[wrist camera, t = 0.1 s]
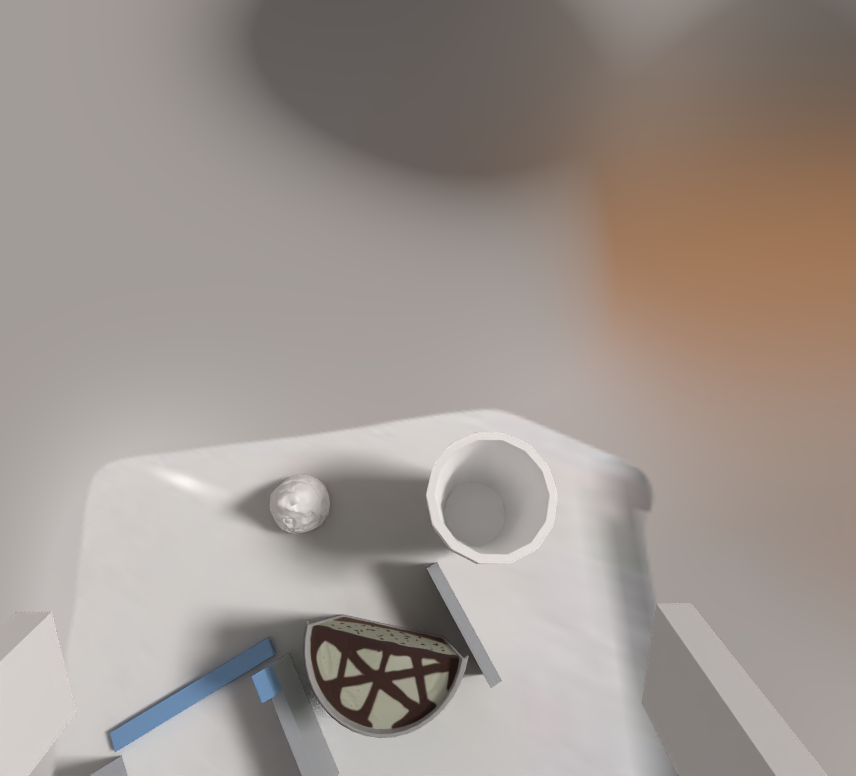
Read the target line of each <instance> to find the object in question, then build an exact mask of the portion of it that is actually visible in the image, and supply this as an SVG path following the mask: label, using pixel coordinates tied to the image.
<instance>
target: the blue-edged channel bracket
mask: <svg viewBox="0 0 856 776" xmlns="http://www.w3.org/2000/svg"><path fill="white" fill-rule="evenodd" d="M426 569H427V570H428V572H429V574H430V576H431V578H432V580H433V582H434V584H435V585H436V587H437V589H438V591H439V593H440V595H441V597H442V598H443V600H444V602H445V604H446V606H447V608H448V610H449V611H450V613H451V615H452V617H453V619H454V621H455V623H456V624H457V626H458V628H459V630H460V632H461V634H462V636H463V638H464V639H465V641H466V643H467V645H468V647H469V649H470V651H471V652H472V654H473V656H474V658H475V660H476V662H477V664H478V665H479V667H480V669H481V671H482V673H483V675H484V677H485V678H486V680H487V682H488V684H489V685H490V687H491V688H492V687H493V686H495V685H496V684H498V683H499V682H501V681H502V680H501V678H500V676H499V675H498V673H497V671H496V669H495V667H494V665H493V664H492V662H491V660H490V658H489V656H488V654H487V653H486V651H485V649H484V647H483V645H482V644H481V642H480V640H479V638H478V636H477V634H476V633H475V631H474V629H473V627H472V625H471V623H470V622H469V620H468V618H467V616H466V614H465V612H464V611H463V609H462V607H461V605H460V603H459V601H458V600H457V598H456V596H455V594H454V592H453V590H452V589H451V587H450V585H449V583H448V581H447V579H446V578H445V576H444V574H443V572H442V570H441V568H440V567H439V565H438V563H437V562H436V563H434V564H433V565H431V566H429V567H428V568H426ZM275 654H276V653H275V650H274V648H273V646H272V643H271V641H270V638H267V639H265V640H263V641H262V642H260V643H258V644H257V645H255V646H253V647H252V648H250V649H248V650H247V651H245V652H243V653H242V654H240V655H238V656H237V657H235V658H234V659H232V660H230V661H229V662H227V663H225V664H224V665H222V666H220V667H219V668H217V669H215V670H214V671H212V672H210V673H209V674H207V675H205V676H204V677H202V678H200V679H199V680H197V681H195V682H194V683H192V684H190V685H189V686H187V687H185V688H184V689H182V690H180V691H179V692H177V693H175V694H174V695H172V696H171V697H169V698H167V699H166V700H164V701H162V702H161V703H159V704H157V705H156V706H154V707H152V708H151V709H149V710H147V711H146V712H144V713H142V714H141V715H139V716H137V717H136V718H134V719H132V720H131V721H129V722H127V723H126V724H124V725H122V726H121V727H119V728H117V729H116V730H114V731H112V732H111V733H110V736H111V740H112V743H113V747H114V750H115V752H116V751H118V750H120V749H121V748H123V747H124V746H126V745H128V744H129V743H131V742H133V741H134V740H136V739H137V738H139V737H141V736H142V735H144V734H146V733H147V732H149V731H151V730H152V729H154V728H155V727H157V726H159V725H160V724H162V723H164V722H165V721H167V720H169V719H170V718H172V717H173V716H175V715H177V714H178V713H180V712H182V711H183V710H185V709H187V708H188V707H190V706H191V705H193V704H195V703H196V702H198V701H200V700H201V699H203V698H205V697H206V696H208V695H209V694H211V693H213V692H214V691H216V690H218V689H219V688H221V687H223V686H224V685H226V684H227V683H229V682H231V681H232V680H234V679H236V678H237V677H239V676H240V675H242V674H244V673H245V672H247V671H249V670H250V669H252V668H254V667H255V666H257V665H258V664H260V663H262V662H263V661H265V660H267V659H268V658H270V657H272V656H273V655H275ZM251 677H252V679H253V682H254V684H255V687H256V690H257V692H258V695H259V697H260V700H261V702H262V704H263V703H264V702H266V701H267V700H269V699H271V700H272V702H273V705H274V707H275V710H276V712H277V715H278V718H279V720H280V723H281V725H282V728H283V730H284V733H285V735H286V738H287V740H288V743H289V745H290V748H291V750H292V753H293V755H294V758H295V760H296V763H297V765H298V768H299V770H300V773H301V775H302V776H338V773H339V772H338V769H337V767H336V764H335V762H334V760H333V757H332V755H331V753H330V750H329V748H328V745H327V743H326V741H325V738H324V736H323V733H322V731H321V729H320V726H319V724H318V722H317V719H316V717H315V714H314V712H313V710H312V707H311V705H310V703H309V700H308V698H307V695H306V693H305V691H304V688H303V686H302V683H301V681H300V679H299V676H298V674H297V672H296V669H295V667H294V664H293V662H292V660H291V657H290V655H289V653H288V654H286V655H285V656H283V657H281V658H280V659H278V660H277V661H275V662H273V663H272V664H270V665H269V666H267V667H266V668H264V669H262V670H261V671H259V672H258V673H256V674H255V675H253V676H251ZM90 776H127V773H126V770H125V767H124V763H123V760H122V756H120V757H119V758H117V759H115V760H114V761H112V762H110V763H109V764H107V765H106V766H104V767H102V768H101V769H99V770H98V771H96V772H94V773H93V774H91V775H90Z"/></svg>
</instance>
